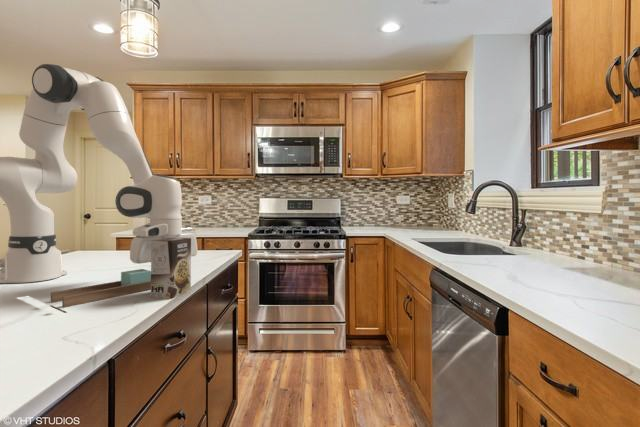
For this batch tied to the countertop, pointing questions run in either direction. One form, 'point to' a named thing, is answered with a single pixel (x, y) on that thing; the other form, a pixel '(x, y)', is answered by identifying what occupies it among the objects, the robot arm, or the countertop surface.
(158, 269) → the coffee box
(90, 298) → the chute
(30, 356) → the countertop surface
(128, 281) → the block
